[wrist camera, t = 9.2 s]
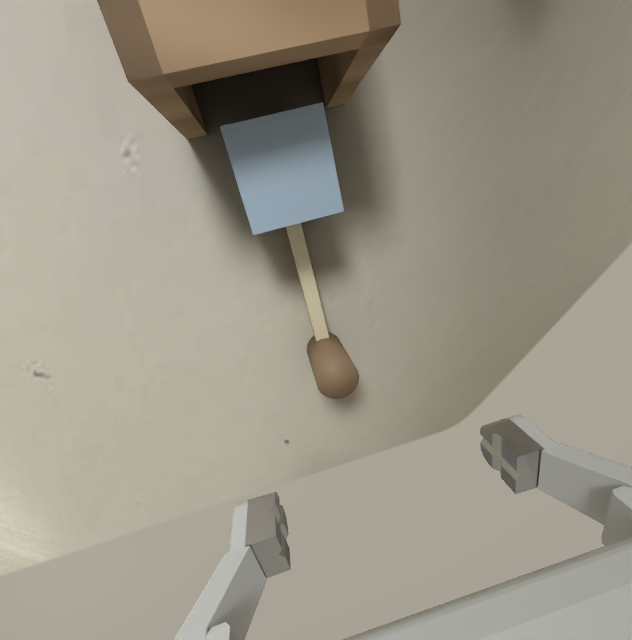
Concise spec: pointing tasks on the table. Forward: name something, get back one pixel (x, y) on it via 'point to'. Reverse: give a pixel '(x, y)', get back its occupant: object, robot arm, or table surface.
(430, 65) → the table surface
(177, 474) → the table surface
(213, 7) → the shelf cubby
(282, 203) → the block with stick handle
